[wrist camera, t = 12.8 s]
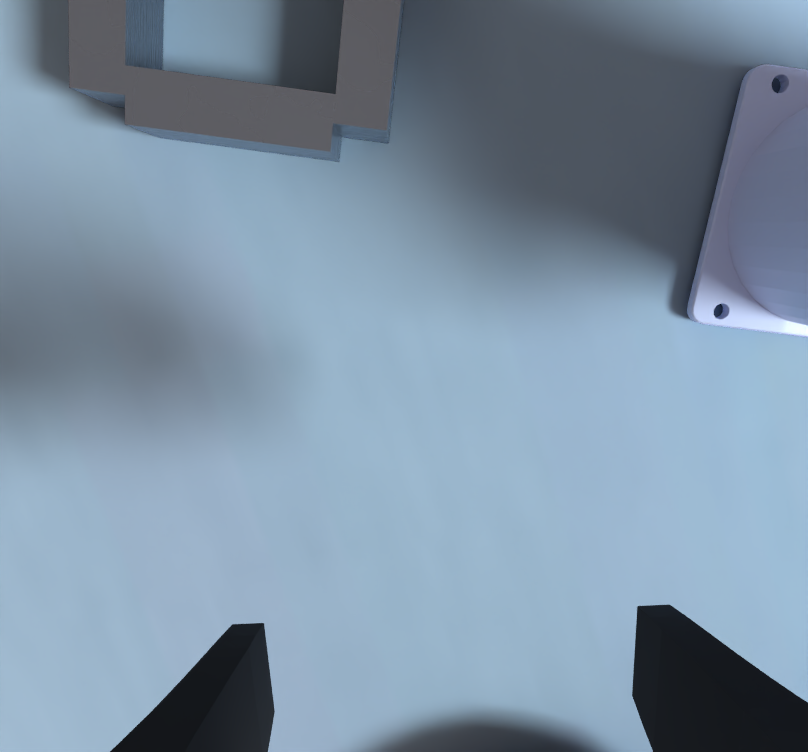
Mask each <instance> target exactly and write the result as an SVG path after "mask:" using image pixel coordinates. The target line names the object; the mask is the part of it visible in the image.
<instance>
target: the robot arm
mask: <svg viewBox="0 0 808 752" xmlns="http://www.w3.org/2000/svg"><path fill="white" fill-rule="evenodd" d="M774 78H777V79H779V81H780V83H781V88H780V90H779V92H778V93H776V92H774V91H773V89H772V81H773V79H774ZM719 304H722V306H723V312H722V314H721V315H720V316H718V317H715V316H714V309H715V307H716V306H717V305H719ZM687 313H688V316H689V318H690V319H691V320H692V321H694V322H697V323H700V324H705V325H713V326H721V327H729V328H737V329H745V330H753V331H761V332H769V333H777V334H785V335H793V336H801V337H808V70H806V69H799V68H792V67H785V66H778V65H771V64H763V65H759V66H757V67H755V68H753V69H751V70H749V71H748V73H747V74H746V75H745V76H744V78H743V81H742V84H741V88H740V92H739V96H738V100H737V104H736V108H735V113H734V117H733V121H732V125H731V129H730V133H729V137H728V141H727V145H726V150H725V154H724V158H723V162H722V166H721V170H720V174H719V178H718V182H717V186H716V191H715V195H714V199H713V203H712V207H711V211H710V215H709V219H708V223H707V228H706V232H705V236H704V240H703V244H702V248H701V252H700V256H699V260H698V265H697V269H696V273H695V277H694V281H693V285H692V289H691V293H690V297H689V301H688V306H687ZM632 696H633V699H634V702H635V704H636V707H637V710H638V713H639V716H640V718H641V721H642V724H643V727H644V729H645V732H646V734H647V737H648V739H649V742H650V745H651V747H652V750H653V752H808V703H807V702H806V701H804V700H803V699H801V698H800V697H798V696H797V695H795V694H794V693H792V692H791V691H789V690H788V689H786V688H785V687H783V686H782V685H781V684H779V683H778V682H776V681H775V680H773V679H772V678H770V677H769V676H768V675H766V674H765V673H763V672H762V671H760V670H759V669H758V668H756V667H755V666H753V665H752V664H751V663H749V662H748V661H746V660H745V659H744V658H742V657H741V656H740V655H738V654H737V653H735V652H734V651H733V650H731V649H730V648H729V647H727V646H726V645H724V644H723V643H722V642H720V641H719V640H718V639H716V638H715V637H714V636H712V635H711V634H710V633H708V632H707V631H706V630H704V629H703V628H701V627H700V626H699V625H697V624H696V623H695V622H693V621H692V620H691V619H689V618H688V617H686V616H685V615H684V614H682V613H681V612H679V611H678V610H676V609H675V608H674V607H672V606H671V605H653V606H638V607H637V624H636V641H635V658H634V675H633V692H632ZM273 718H274V703H273V695H272V687H271V678H270V670H269V662H268V654H267V645H266V637H265V629H264V623H255V624H233V625H232V626H231V627H230V628H229V629H228V630H227V631H226V632H225V633H224V634H223V635H222V636H221V637H220V638H219V639H218V640H217V642H216V643H215V644H214V645H213V646H212V647H211V648H210V649H209V650H208V651H207V653H206V654H205V655H204V656H203V657H202V658H201V659H200V660H199V661H198V663H197V664H196V665H195V666H194V667H193V668H192V669H191V670H190V671H189V672H188V674H187V675H186V676H185V677H184V678H183V679H182V680H181V681H180V682H179V683H178V684H177V685H176V686H175V687H174V688H173V690H172V691H171V692H170V693H169V694H168V695H167V696H166V697H165V698H164V699H163V700H162V701H161V702H160V703H159V704H158V705H157V706H156V707H155V708H154V710H153V711H152V712H151V713H150V714H149V715H148V716H147V717H145V718H144V719H143V720H142V721H141V722H140V723H139V724H138V725H137V726H136V727H135V728H134V729H133V730H132V731H131V732H130V733H129V734H128V735H127V736H126V737H125V738H124V739H123V740H122V741H121V742H120V743H119V744H118V745H117V746H116V747H115V748H113V749H112V750H111V751H110V752H268V747H269V741H270V736H271V730H272V724H273Z"/></svg>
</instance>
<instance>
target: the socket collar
mask: <svg viewBox="0 0 808 752" xmlns="http://www.w3.org/2000/svg"><path fill="white" fill-rule="evenodd" d="M403 7H404V0H344V5H343V16H342V27H341V38H340V50H339V61H338V72H337V83H336V94H331V93H324V92H317V91H310V90H302V89H295V88H288V87H280V86H273V85H266V84H259V83H251V82H244V81H237V80H229V79H222V78H215V77H208V76H200V75H193V74H186V73H178V72H171V71H164V70H162V53H163V8H164V0H68V18H69V88H72V89H74V90H76V91H79V92H81V93H83V94H86V95H88V96H90V97H93V98H95V99H97V100H100V101H102V102H104V103H107V104H109V105H111V106H115V107H122V108H125V125H128V126H130V127H133V128H136V129H138V130H141V131H144V132H146V133H149V134H151V135H154V136H157V137H159V138H164V139H172V140H180V141H187V142H195V143H202V144H210V145H217V146H225V147H232V148H240V149H247V150H255V151H262V152H270V153H277V154H285V155H292V156H300V157H307V158H315V159H322V160H330V161H337V162H339V159H340V149H341V138H342V137H345V138H353V139H360V140H368V141H375V142H382V143H388V142H389V133H390V124H391V115H392V106H393V97H394V88H395V79H396V70H397V61H398V52H399V43H400V34H401V25H402V16H403Z"/></svg>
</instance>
